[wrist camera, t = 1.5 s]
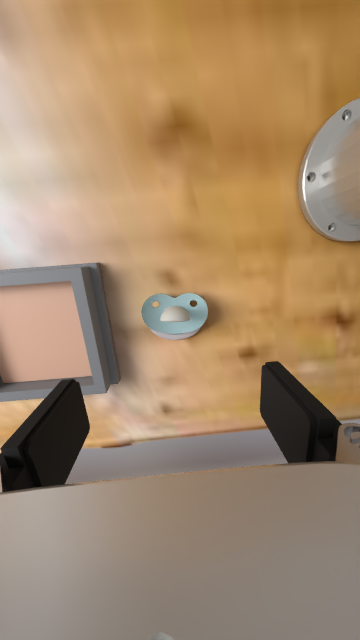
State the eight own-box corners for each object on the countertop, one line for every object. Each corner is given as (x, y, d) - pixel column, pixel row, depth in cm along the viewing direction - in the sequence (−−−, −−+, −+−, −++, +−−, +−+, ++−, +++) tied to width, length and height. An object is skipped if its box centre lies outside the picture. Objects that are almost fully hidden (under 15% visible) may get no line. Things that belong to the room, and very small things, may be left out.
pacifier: (204, 336, 27) (205, 290, 25) (213, 361, 21) (215, 303, 19) (146, 338, 27) (143, 291, 25) (139, 364, 21) (133, 305, 19)
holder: (98, 262, 24) (87, 263, 21) (120, 379, 28) (113, 394, 25) (-46, 273, 23) (-78, 276, 20) (-2, 389, 28) (-23, 405, 25)
